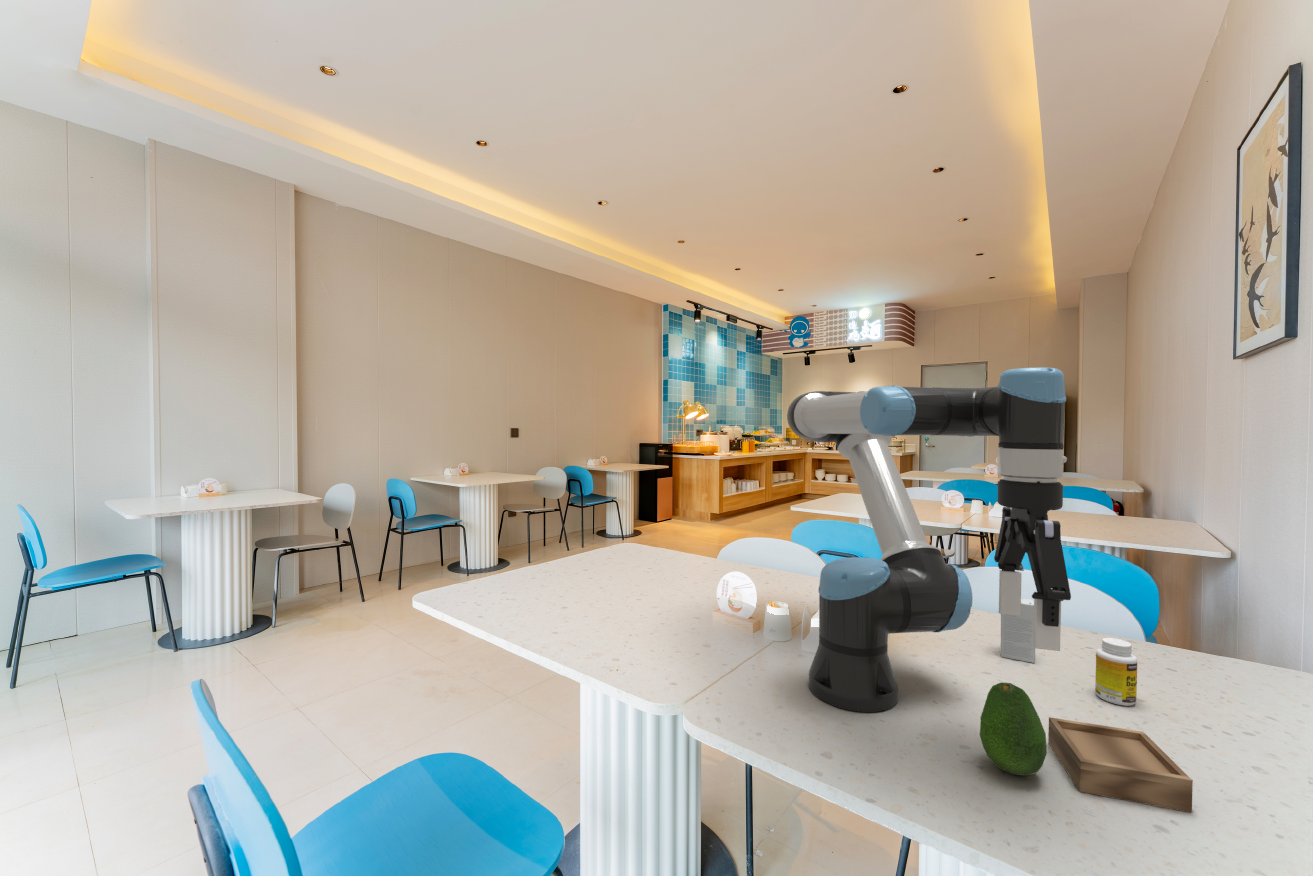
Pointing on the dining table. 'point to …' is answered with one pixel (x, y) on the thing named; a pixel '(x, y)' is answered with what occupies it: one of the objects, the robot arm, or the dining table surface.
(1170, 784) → the wooden tray
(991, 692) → the avocado
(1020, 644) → the skincare box
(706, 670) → the dining table surface
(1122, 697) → the supplement bottle
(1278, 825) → the dining table surface
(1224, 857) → the dining table surface
